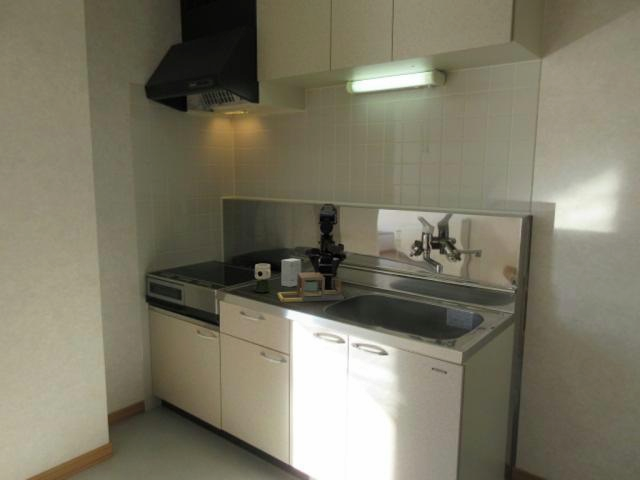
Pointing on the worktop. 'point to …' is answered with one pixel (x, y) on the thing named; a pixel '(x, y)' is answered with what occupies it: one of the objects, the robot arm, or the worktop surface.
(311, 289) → the block
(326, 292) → the sled
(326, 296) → the tunnel track
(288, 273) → the small box
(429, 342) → the worktop surface
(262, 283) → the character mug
